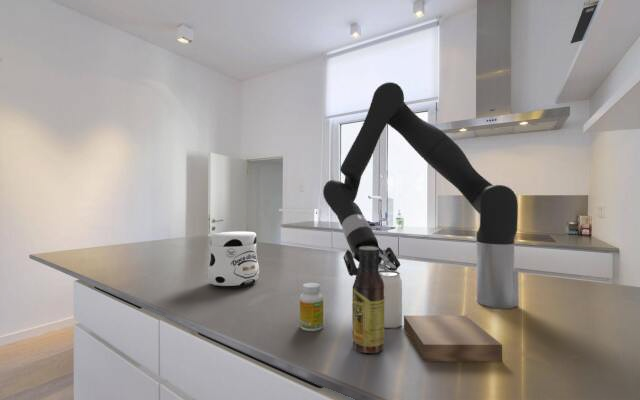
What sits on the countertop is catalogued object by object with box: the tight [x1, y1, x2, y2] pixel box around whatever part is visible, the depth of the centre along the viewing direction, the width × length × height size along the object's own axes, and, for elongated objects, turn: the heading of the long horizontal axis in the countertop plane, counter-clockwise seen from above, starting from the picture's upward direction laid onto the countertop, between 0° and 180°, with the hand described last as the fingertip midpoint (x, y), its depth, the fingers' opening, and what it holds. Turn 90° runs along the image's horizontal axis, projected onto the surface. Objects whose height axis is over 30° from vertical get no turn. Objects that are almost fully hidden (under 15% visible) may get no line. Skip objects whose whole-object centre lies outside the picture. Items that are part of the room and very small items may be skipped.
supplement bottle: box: [299, 282, 324, 332], centre depth 70 cm, size 5×5×10 cm
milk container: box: [207, 231, 260, 289], centre depth 107 cm, size 17×17×18 cm
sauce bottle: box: [351, 246, 385, 354], centre depth 60 cm, size 7×6×20 cm
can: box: [378, 269, 403, 329], centre depth 72 cm, size 6×6×12 cm
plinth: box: [403, 315, 503, 363], centre depth 61 cm, size 14×14×3 cm
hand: (383, 286), depth 73 cm, fingers open, 8 cm apart
